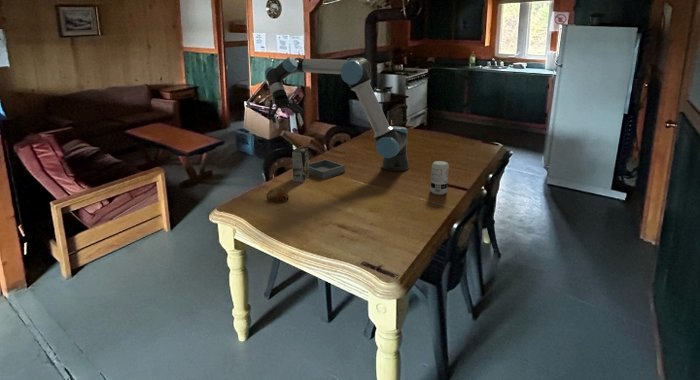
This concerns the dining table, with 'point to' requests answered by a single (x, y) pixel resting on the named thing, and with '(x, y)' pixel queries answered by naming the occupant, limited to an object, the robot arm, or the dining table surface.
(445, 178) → the supplement can
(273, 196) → the bread roll
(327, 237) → the dining table surface
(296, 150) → the coffee box
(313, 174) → the tray
